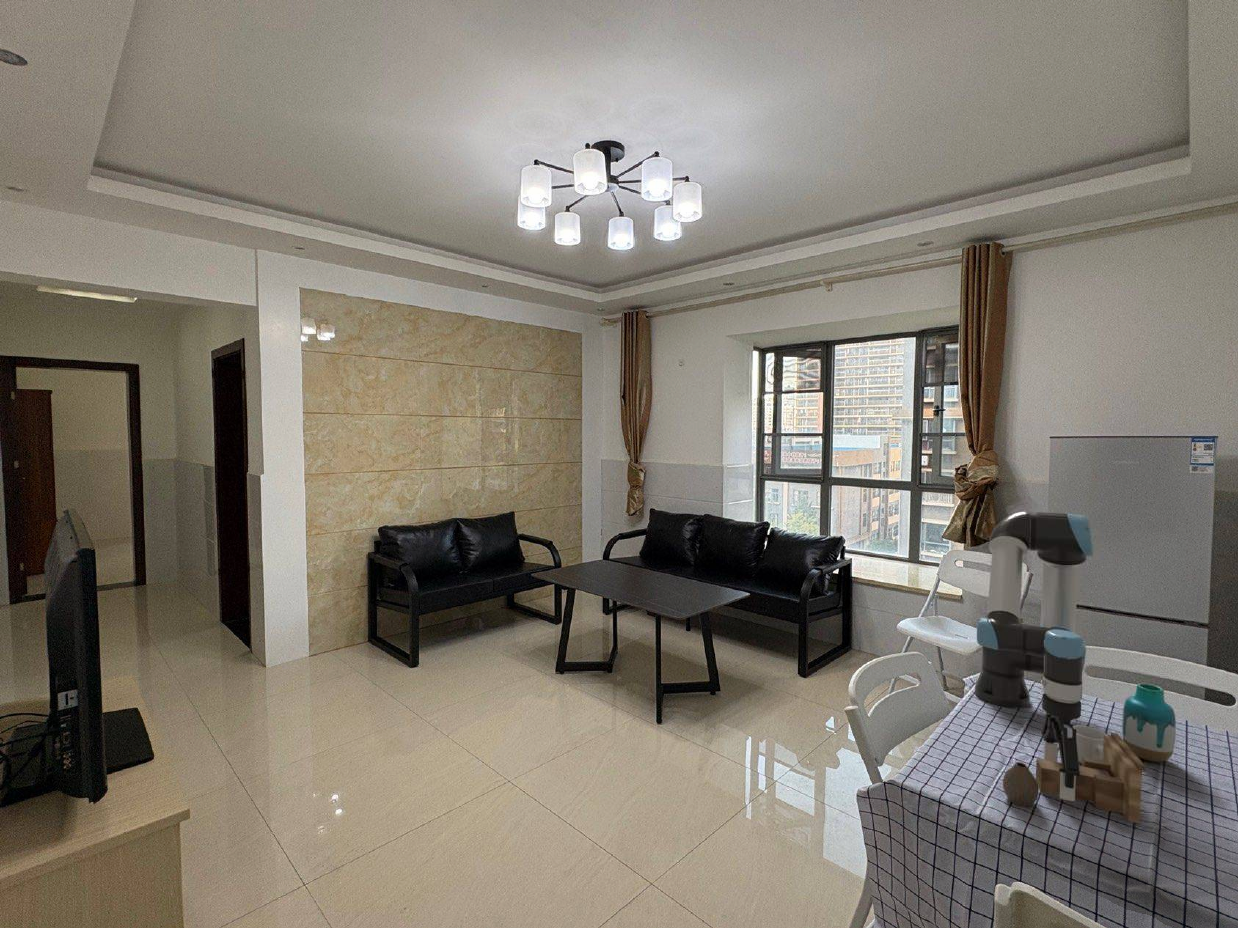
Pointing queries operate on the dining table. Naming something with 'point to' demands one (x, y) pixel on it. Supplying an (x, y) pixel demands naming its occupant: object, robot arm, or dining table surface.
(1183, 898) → the dining table surface
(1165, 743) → the vase
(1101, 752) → the cup
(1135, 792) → the headboard
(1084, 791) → the brown wooden block
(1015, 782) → the vase
